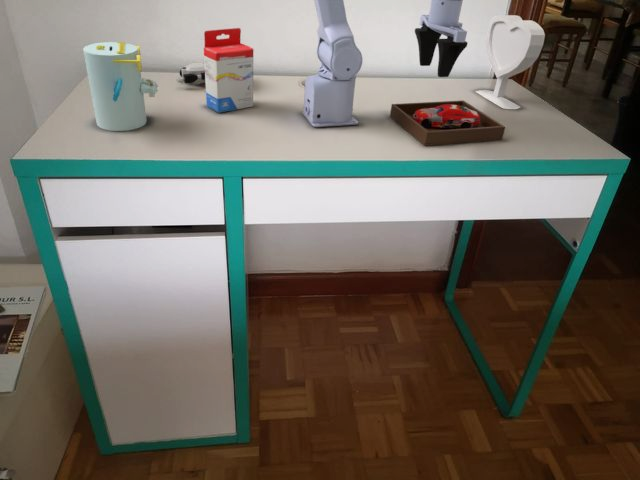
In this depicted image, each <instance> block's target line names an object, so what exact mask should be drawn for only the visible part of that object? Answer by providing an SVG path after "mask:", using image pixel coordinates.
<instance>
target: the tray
mask: <svg viewBox="0 0 640 480" xmlns="http://www.w3.org/2000/svg"><path fill="white" fill-rule="evenodd" d="M444 104H453V105H459V106H463V107H466V108H468V109H470V110H473V111H476V112H477V113H478V114H479V120H480V124H479V127H478V128H466V129H461V128H460V129H454V128H442V127H432V126H430V127H429V128H424V127H423V126H422V124H421V125H420V124H419V123H417V122H416V121H415V120H414V119H413V115H414V113H415V112H416V111H417V110H419V109H424V108H435V107H437V106H440V105H444ZM389 117H390V118H391V119H392V120H393V121H394V122H396V123H397V124H398V125H399V126H400V127H402V128H403V129H404V130H405V131H406V132H407V133H409V135H410V136H412V137H413V138H414V139H416V141H418V142H419V143H420V144H421V145H423V146H424V147H428V146H429V147H430V146H442V145H454V144H466V143H467V144H468V143H478V142H479V143H480V142H481V143H482V142H490V141H491V142H492V141H501V140H503V137H504V133H505V129H506V125H503V124H502V123H500V122H499V121H497V120H496V119H493V118H492V117H491V116H489V115H488V114H486V113H484V112H483V111H481V110H480V109H478V108H476V107H475V106H473V105H471V104H470V103H468V102H467V101H465V100H447V101H446V100H445V101H425V102H409V103H408V102H406V103H392V104H391V105H390V113H389Z"/></svg>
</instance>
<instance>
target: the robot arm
mask: <svg viewBox="0 0 640 480" xmlns="http://www.w3.org/2000/svg"><path fill="white" fill-rule="evenodd" d="M463 1H464V0H431V2H430V8H429V12H428V14H420V19H419V24H418V25H419V26H421V27H415V28H414V34H415V36H416V40H417V45H418V56H419V66H420V67H430V66H431V64H432V61H433V58H434V55H435V51H436V48H438V63H437V77H438V78H449V76H450V74H451V72H452V70H453V68H454V67H455V66H454V65H455V64H456V62H457V60H458V58H459V56H460V55H461V54H462V52H463V51H464V50H465V49H466V48H467V47H468V42H467V41H466V39H467V34H468V31H467V30H465V29H464V28H463V23H462V22H460V21H459V20H460V16H461V11H462V7H463ZM313 2H314V7H315V11H316V16H317V20H318V28H317V31H316V32H317V39H318V41H317V46H316V55H317V58H318V60H319V61H320V63H321V64H320V66H319V69H318V73H316V74H312V75H308V76H306V79H305V82H304V93H303V110H302V113H301V114H302V115H303V116H304V117H305V118H306V119H307V121H308V122H309V124H311V126H312V127H313V128H326V127H338V126H339V127H340V126H356V125H359V124H360V122H359V121H358V119H357V118H355V117H354V116H353V108H354V99H355V89H356V78H357V75H358V73H359V72H360V70H361V68H362V65H363V54H362V52H361V50H360V48H358V46H357V45H356V42H355V37H354V34H353V31H352V29H351V27H350V25H349V23H348V19H347V18H348V17H347V14H346V12H347V11H346V8H345V2H344V0H313ZM442 35H443V36H445V37H446V38H441V37H442Z"/></svg>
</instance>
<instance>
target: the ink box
mask: <svg viewBox="0 0 640 480" xmlns="http://www.w3.org/2000/svg"><path fill="white" fill-rule="evenodd" d="M241 33H242V30H241V27H233V28H222V29H220V28H219V29H210V30H204V32H203V38H204V39H203V40H204V47H203V60H204V62H203V63H204V64H205V82H206V83H205V100H206V106H207V107H208V108H210V109H211V110H213V111H215V112H216V113H218V114H220V113H225V112H232V111H236V110H242V109H247V108H252V107H254V48H253V47H251V46H249V45H246V44H244V43H242V42H241ZM222 35H224V36H228V37H226V38H217V37H219V36H222Z"/></svg>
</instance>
